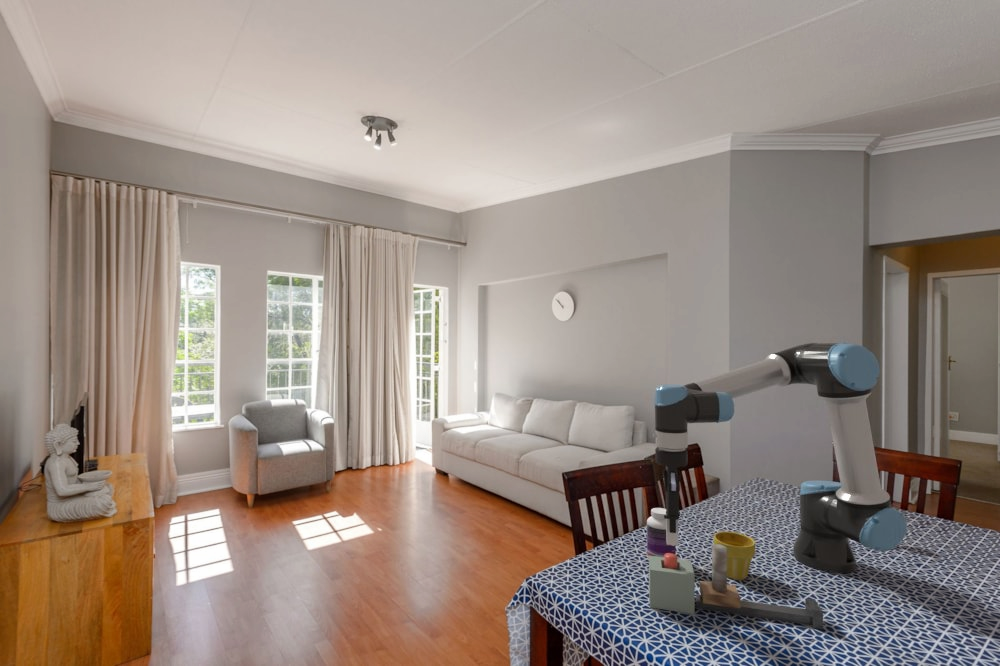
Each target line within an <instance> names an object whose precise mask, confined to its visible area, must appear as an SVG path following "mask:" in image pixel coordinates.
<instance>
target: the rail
mask: <svg viewBox="0 0 1000 666" xmlns="http://www.w3.org/2000/svg"><path fill="white" fill-rule="evenodd" d="M804 600H805V601H804V605H805V607H804V608H801V607H800V608H798V607H791V606H784V605H777V604H770V603H763V602H755V601H748V600H741V599H740V608H734V607H726V606H719V605H712V604H705V603H703V601H702V597H701V594H697V593H696V594H695V604H696V607H697V610H703V611H708V612H717V613H723V614H730V615H736V616H743V617H750V618H751V617H752V618H757V619H765V620H771V621H778V622H784V623H793V624H800V625H806V626H811V627H812V629H817V630H824V610H823V609H822V607H821V606H820V604H819V603H818V602H817V601H816V599H812V598H805V599H804Z"/></svg>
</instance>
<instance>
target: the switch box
mask: <svg viewBox="0 0 1000 666" xmlns="http://www.w3.org/2000/svg"><path fill="white" fill-rule="evenodd" d="M695 577H696V576H695V571H694V568H693V565H692V561H691V560H688V559H680V558H677V570H675V569H667V568H664V557H657V556H649V559H648V597H649V598H648V599H649V600H648V601H649V608H652V609H658V610H666V611H671V612H677V613H678V612H680V613H686V614H692V615H694V614H695V604H696V594H695V588H696V587H695V586H696V585H695Z"/></svg>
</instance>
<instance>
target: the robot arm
mask: <svg viewBox="0 0 1000 666" xmlns="http://www.w3.org/2000/svg"><path fill="white" fill-rule="evenodd" d="M880 369H881V368H880V365H879V362H878V360H877V358H876V355H875V354H874V353H873V352H872V351H871V350H869V349H867V347H865V346H862V345H861V344H855V343H846V342H830V343H828V342H827V343H826V342H821V343H819V342H818V343H817V342H810V343H804V344H799V345H796V346H793V347H789V348H787V349H784V350H781V351H778V352H777V351H776V352H774V353H771V354H768V355H767V356H766V358H765V359H764V360H760V361H757V362H754V363H751V364H748V365H744V366H742V367H739V368H735V369H733V370H729V371H726V372H722V373H719V374H717V375H714V376H710V377H707V378H703V379H701V380H697V381H693V382H690V383H688V384H687V383H686V384H684V385H680V384H661V385H658V386H656V388H655V391H654V392H655V393H654V401H653V403H654V417H655V418H654V419H655V421H654V423H655V424H654V428H655V429H654V430H655V431H654V432H655V433H652V437H653V438H655V447H656V448H655V449H654V450H655V453H654V454H655V455H654V456H655V463H656V464H658V465H660V466H662V467H663V466H664V467H665V469H662V477H663V487H664V490H665V493H664V494H665V495H664V496H665V507H664V509H666V514H667V515H664V519H666V543H667V545H676V547H678V546H679V519H680V517H681V513H680V511H679V510H680V489H681V485H680V483H681V481H682V478H681V477H682V474H681V473H680V470H678V468H682V467H683V468H684V467H685V466H687V465H688V464H689V463H688V462H689V457H688V456H689V455H688V450H687V448H688V447H689V442H688V441H689V440H688V435H689V434H688V424H702V423H703V424H705V423H709V424H710V423H717V424H719V423H723V422H724V423H725V422H729V421H730V420H732V419H733V416H734V415H735V402H734V399H737V398H740V397H743V396H745V395H750V394H752V393H755V392H758V391H761V390H765V389H768V388H772V387H773V386H779V387H786V386H789V385H795V384H798V385H799V384H803V385H804V384H805V385H814V386H816V390H817V395H818V397H819V398H820V399H822V401H824V402H825V403H826V408H827V409H826V410H827V415H828V419H829V421H828V422H829V425H830V426H829V427H830V430H831V431H830V433H831V436H832V443H833V449H834V453H835V454H834V455H835V460H836V464H837V471H838V476H839V481H840V482H838V481H830V480H807V481H806V480H805V481H803V482H802V483H801V484H800V493H799V515H800V516H799V521H800V526H799V527H800V530H799V532H798V535H797V538H796V540H795V543H794V546H793V557H794V558H795V559H796V560H797V561H798V562H799V563H801V564H803V565H806V566H808V567H810V568H813V569H816V570H820V571H824V572H829V573H836V574H849V573H853V572H855V570H856V569H857V568H856V567H857V565H856V563H857V561H856V558H855V554H854V553H853V552H854V551H853V549H852V546H851V543H850V541H849V540H852V541H854V542H856V543H858V544H860V545H862V546H863V547H865V548H869V549H872V550H873V551H877V552H888V551H889V552H890V551H892V550H895V549H896V548H897V547H898V546H899V545H900V544H901V543H902V541H903V540H904V538H905V536H906V533H907V528H908V527H907V526H908V524H907V519H906V516H905V515H904V514H903V513H902V512H901V511H900V510H898V509H897V508H895V507H893V506H892V501H891V500H892V499H891V496H890V494H889V493H888V492H887V491H885V490H884V488H882V485H881V481H880V474H879V470H878V469H879V468H878V464H877V458H876V452H875V446H874V440H873V436H872V435H873V434H872V429H871V424H870V419H869V413H868V412H869V411H868V407H867V398H868V397H869V396H871V394H872V388H873V387H874V386H875V385H876V384H877V382H878V378H879V377H880V372H881V371H880ZM896 546H897V547H896ZM895 547H896V548H895ZM894 548H895V549H894Z"/></svg>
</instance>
